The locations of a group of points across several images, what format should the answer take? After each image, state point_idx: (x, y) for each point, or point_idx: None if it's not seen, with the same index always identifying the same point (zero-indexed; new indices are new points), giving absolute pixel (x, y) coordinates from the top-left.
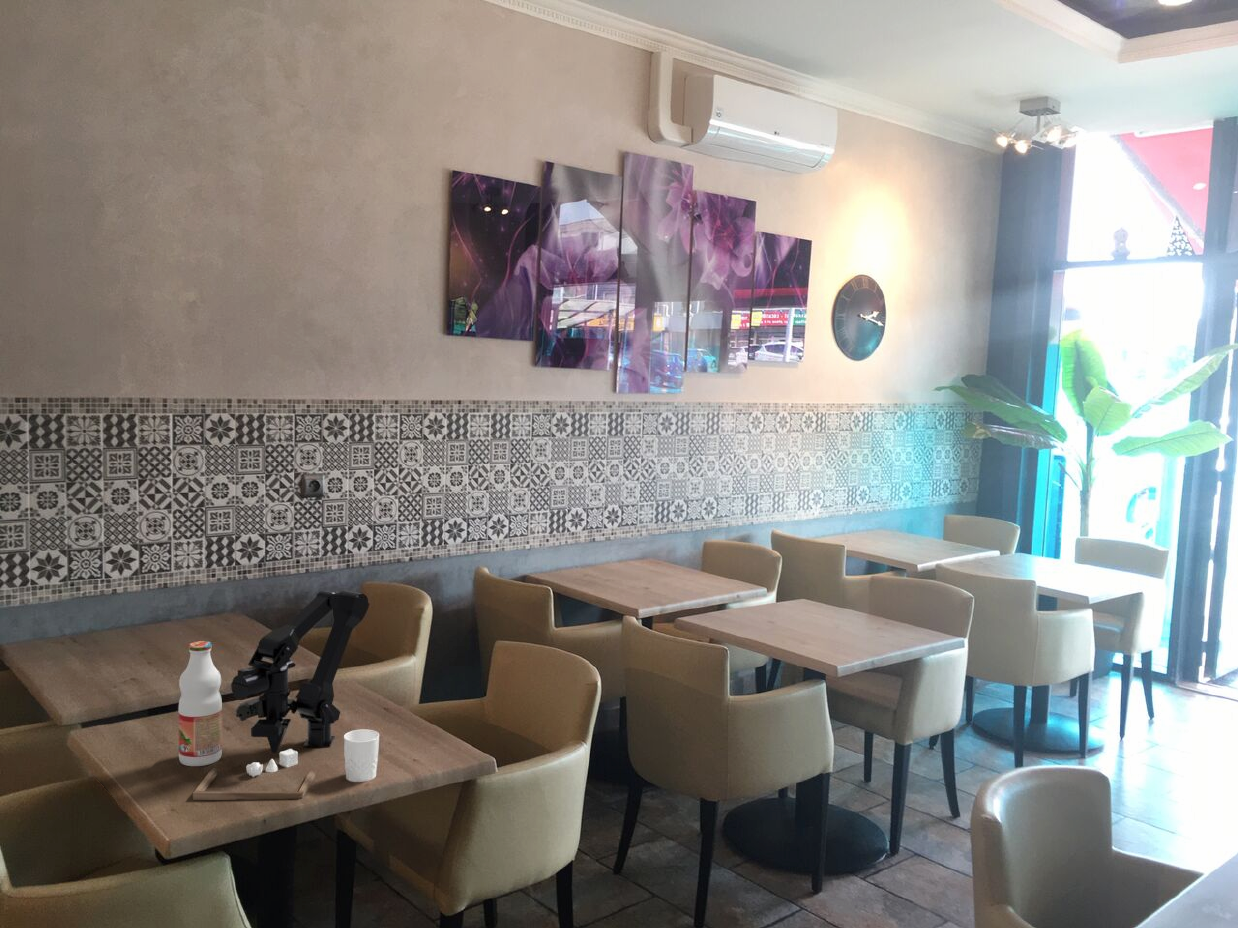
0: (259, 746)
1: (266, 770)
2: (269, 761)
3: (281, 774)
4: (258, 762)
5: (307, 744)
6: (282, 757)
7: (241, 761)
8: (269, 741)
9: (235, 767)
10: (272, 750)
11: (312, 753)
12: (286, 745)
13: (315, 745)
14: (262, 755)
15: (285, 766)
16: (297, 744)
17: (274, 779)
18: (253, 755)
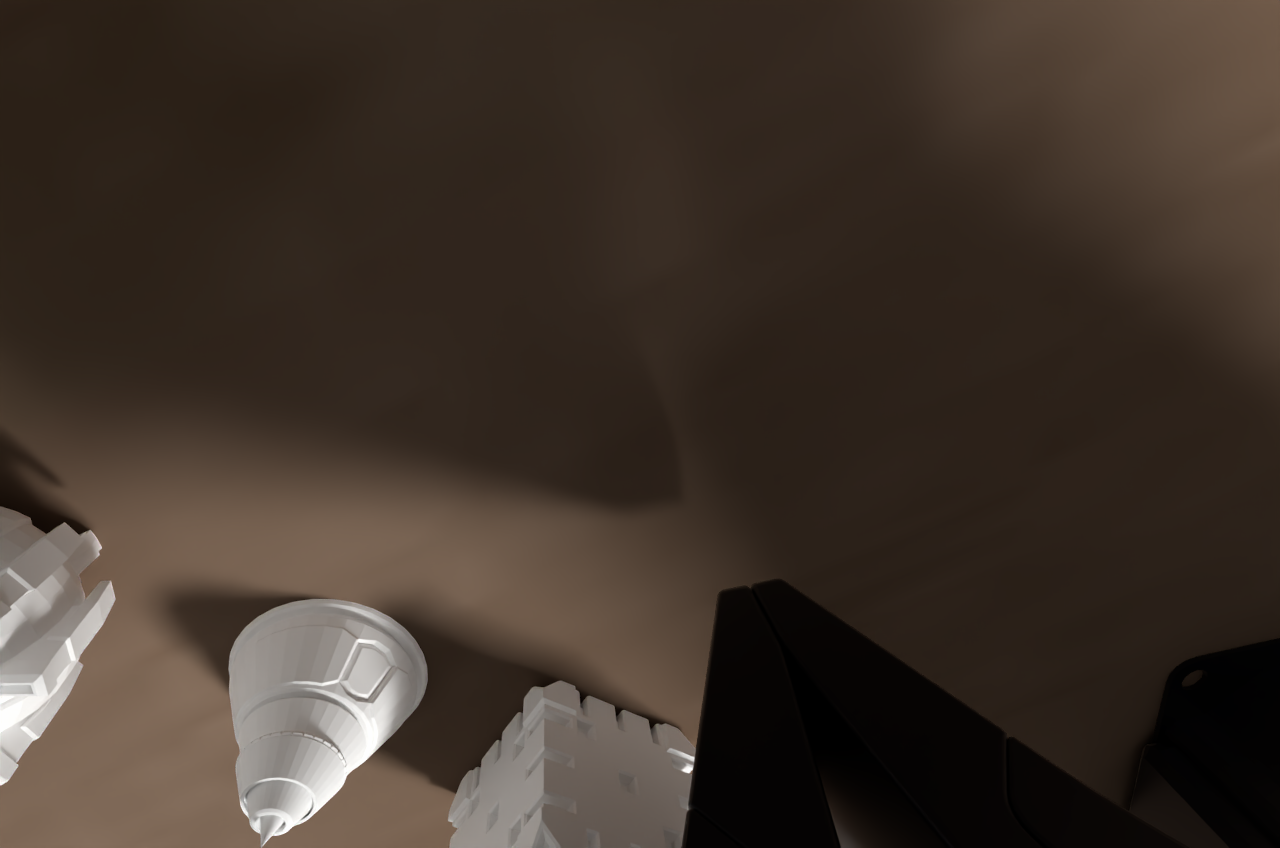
0: (1269, 47)
1: (250, 641)
2: (256, 766)
3: (225, 835)
4: (30, 686)
5: (1202, 689)
6: (496, 842)
7: (488, 20)
8: (687, 815)
9: (138, 38)
10: (712, 634)
11: None
12: (1222, 475)
13: (1133, 791)
14: (835, 306)
15: (461, 787)
16: (1229, 587)
17: (32, 839)
18: (826, 137)
